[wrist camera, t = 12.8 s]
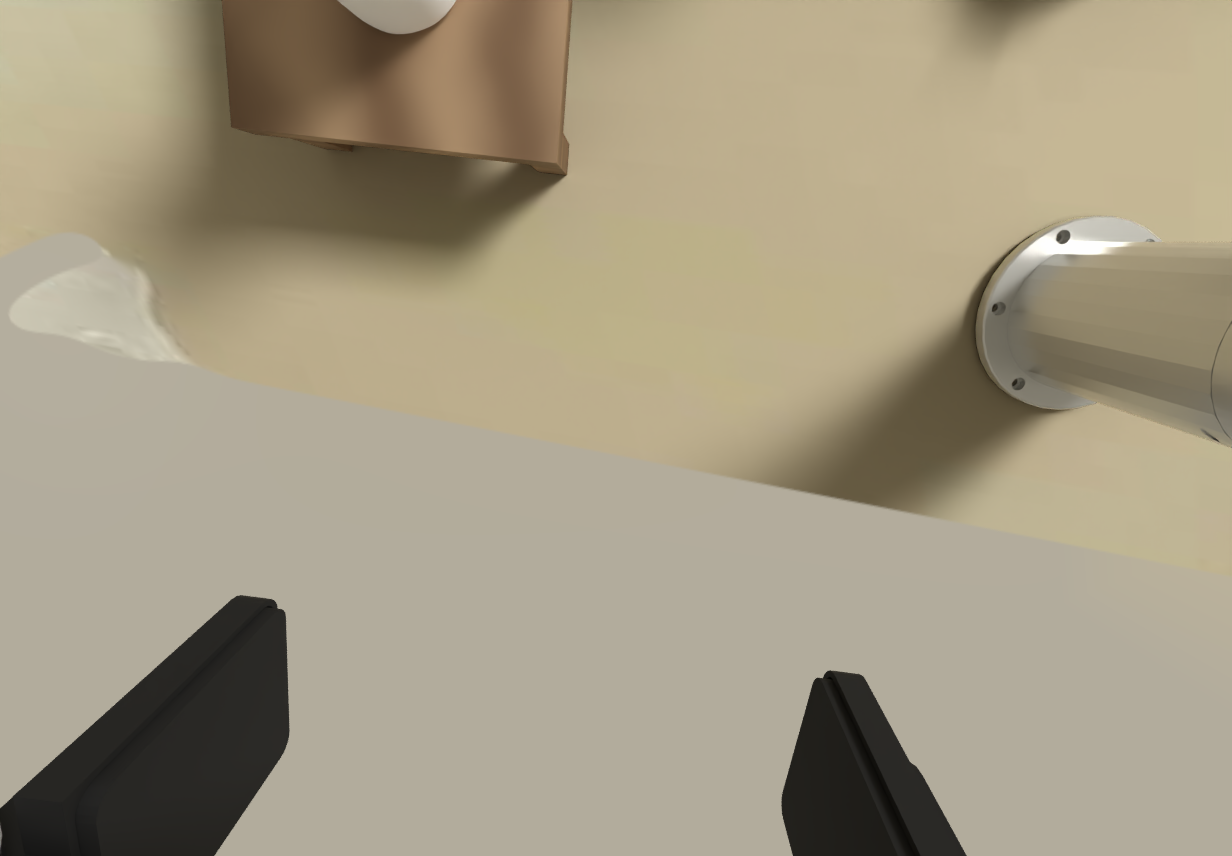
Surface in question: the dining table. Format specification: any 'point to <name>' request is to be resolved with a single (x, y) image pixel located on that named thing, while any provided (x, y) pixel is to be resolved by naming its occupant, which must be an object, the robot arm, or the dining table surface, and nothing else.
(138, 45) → the dining table surface
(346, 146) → the small wooden table
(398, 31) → the can
